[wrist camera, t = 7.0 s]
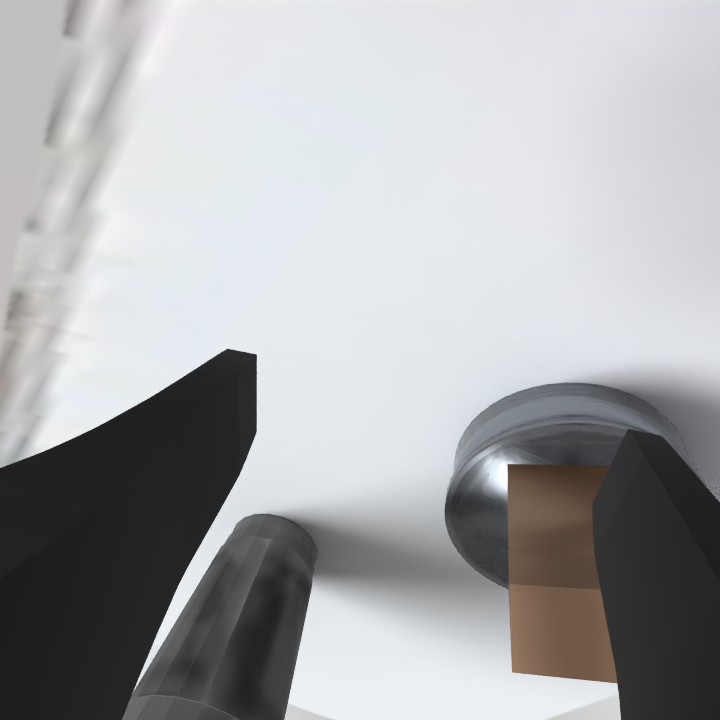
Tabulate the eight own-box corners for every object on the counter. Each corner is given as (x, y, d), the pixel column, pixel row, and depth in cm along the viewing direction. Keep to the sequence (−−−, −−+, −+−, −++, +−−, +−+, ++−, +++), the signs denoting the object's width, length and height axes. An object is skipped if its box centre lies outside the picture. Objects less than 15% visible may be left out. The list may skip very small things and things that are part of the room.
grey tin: (733, 400, 21) (764, 457, 19) (642, 564, 27) (657, 624, 24) (472, 355, 22) (468, 403, 20) (434, 521, 28) (428, 574, 25)
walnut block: (645, 466, 20) (682, 595, 16) (633, 555, 22) (663, 688, 18) (507, 463, 21) (508, 583, 17) (510, 549, 23) (511, 672, 19)
